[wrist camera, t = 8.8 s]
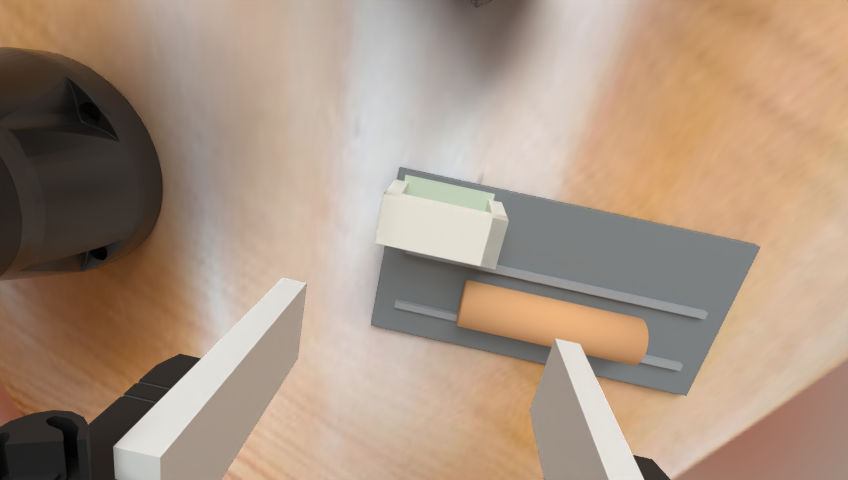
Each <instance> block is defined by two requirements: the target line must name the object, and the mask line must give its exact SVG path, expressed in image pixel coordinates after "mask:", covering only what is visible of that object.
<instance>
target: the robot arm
mask: <svg viewBox="0 0 848 480" xmlns="http://www.w3.org/2000/svg"><path fill="white" fill-rule="evenodd" d="M161 198H162V178H161V170H160V165H159V160H158V157H157V153H156V150H155V147H154V145H153V142H152V140H151V137H150V135H149V133H148V131H147V129H146V127H145V126H144V124H143V122H142V121H141V119H140V117H139V116H138V114H137V113H136V111H135V110H134V109H133V107H132V106H131V105H130V104H129V102H128V101H127V100H126V99H125V98H124V97H123V95H122V94H121V93H120V92H119V91H118V90H117V89H116V88H115V87H114V86H113V85H111V84H110V83H109V82H108V81H107V80H105V79H104V78H103V77H102V76H100V75H99V74H97V73H96V72H95V71H93V70H92V69H90V68H88V67H86V66H85V65H83V64H81V63H79V62H77V61H75V60H73V59H70V58H68V57H65V56H62V55H59V54H55V53H51V52H46V51H39V50H30V49H20V48H10V47H0V281H3V280H13V279H22V278H32V277H42V276H52V275H61V274H71V273H79V272H84V271H88V270H92V269H95V268H98V267H101V266H103V265H105V264H107V263H109V262H112V261H114V260H116V259H118V258H120V257H122V256H124V255H126V254H128V253H130V252H131V251H133V250H134V249H135V248H137V247H138V246H139V245H140V244H141V243H142V242H143V241H144V240H145V239H146V237H147V236H148V235H149V233H150V231H151V230H152V228H153V226H154V224H155V222H156V219H157V217H158V213H159V210H160V205H161ZM306 286H307V283H304V282H300V281H295V280H291V279H286V278H281V279H280V280H279V281H278V282H277V283H276V284H275V285H274V286H273V287H272V288H271V289H270V290H269V291H268V292H267V293H266V294H265V295H264V296H263V297H262V298H261V299H260V300H259V301H258V302H257V303H256V304H255V305H254V306H253V307H252V308H251V309H250V310H249V311H248V312H247V313H246V314H245V315H244V316H243V317H242V318H241V319H240V320H239V321H238V322H237V323H236V324H235V325H234V326H233V327H232V328H231V329H230V330H229V331H228V332H227V333H226V334H225V335H224V336H223V337H222V338H221V339H220V340H219V341H218V342H217V343H216V344H215V345H214V346H213V347H212V348H211V349H210V350H209V351H208V352H207V353H206V354H205V355H204V356H203V357H202V358H196V357H192V356H187V355H183V354H179V355H177V356H175V357H172V358H170V359H168V360H166V361H164V362H162V363H160V364H158V365H156V366H155V367H154V368H153V369H152V370H150V371H149V372H148V373H147V374H146V375H145V376H144V377H142V378H141V379H140V380H139V383H138V384H137V383H136V384H134V385H133V386H132V387H131V388H130V389H129V390H128V391H126V392H125V393H124V396H123V397H120V398H118V399H117V400H116V401H115V402H114V403H113V404H112V405H110V406H109V407H108V408H107V409H106V410H105V411H104V412H102V413H101V414H100V415H99V416H98V417H97V418H96V419H94V420H93V421H92V422H91V423H90V424H89V425H88V424H87V422H86V420H85V419H84V417H82V416H80V415H78V414H76V413H73V412H70V411H57V410H52V411H46V412H39V413H33V414H30V415H27V416H24V417H21V418H18V419H15V420H12V421H10V422H8V423H6V424H5V425H3V426H1V427H0V480H221V479H222V478H223V476H224V474H225V473H226V471H227V470H228V468H229V467H230V465H231V463H232V462H233V460H234V459H235V457H236V455H237V454H238V452H239V451H240V449H241V448H242V446H243V444H244V443H245V441H246V440H247V438H248V436H249V435H250V433H251V432H252V430H253V429H254V427H255V425H256V424H257V422H258V421H259V419H260V417H261V416H262V414H263V413H264V411H265V410H266V408H267V406H268V405H269V403H270V402H271V400H272V398H273V397H274V395H275V394H276V392H277V391H278V389H279V387H280V386H281V384H282V383H283V381H284V379H285V378H286V376H287V375H288V373H289V372H290V370H291V368H292V367H293V365H294V364H295V362H296V360H297V359H298V352H299V344H300V336H301V327H302V319H303V311H304V302H305V294H306ZM530 416H531V420H532V425H533V430H534V435H535V439H536V444H537V449H538V454H539V458H540V463H541V468H542V472H543V477H544V480H670V479H669V477H668V476H667V475H666V474H665V473H664V472H663V471H662V470H661V469H660V468H659V466H658V465H657V464H656V463H655V462H654V461H653V460H652V459H648V458H644V457H639V456H635V455H632V453H631V451H630V448H629V446H628V444H627V442H626V440H625V438H624V436H623V434H622V432H621V429H620V427H619V425H618V423H617V421H616V419H615V417H614V415H613V413H612V410H611V408H610V406H609V404H608V402H607V400H606V398H605V396H604V394H603V391H602V389H601V387H600V385H599V383H598V381H597V379H596V377H595V375H594V372H593V370H592V368H591V366H590V364H589V362H588V360H587V358H586V356H585V353H584V351H583V349H582V347H581V345H580V344H578V343H574V342H569V341H565V340H560V339H556V338H555V340H554V342H553V345H552V348H551V351H550V354H549V357H548V360H547V362H546V365H545V368H544V371H543V374H542V377H541V379H540V382H539V385H538V388H537V391H536V394H535V396H534V399H533V402H532V405H531V408H530Z"/></svg>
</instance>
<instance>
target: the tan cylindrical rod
mask: <svg viewBox="0 0 848 480" xmlns="http://www.w3.org/2000/svg"><path fill="white" fill-rule="evenodd" d="M456 325H457V326H459V327H464V328H468V329H473V330H477V331H481V332H486V333H490V334H495V335H499V336H504V337H508V338H513V339H517V340H522V341H526V342H531V343H535V344H540V345H544V346H549V347H552V345H553V342H554V340H555V338H556V339H560V340H565V341H569V342H574V343H578V344H580V345H581V347H582V349H583V351H584V353H585V355H589V356H593V357H598V358H602V359H607V360H611V361H616V362H620V363H625V364H629V365H637V364H639V363H640V362H641V361H642V359H643V358H644V356H645V353H646V351H647V347H648V339H649V336H648V328H647V325H646V323H645V321H644V320H643V319H641V318H638V317H634V316H629V315H625V314H620V313H616V312H611V311H606V310H602V309H597V308H593V307H588V306H584V305H579V304H575V303H570V302H566V301H561V300H557V299H552V298H548V297H543V296H539V295H534V294H530V293H525V292H521V291H516V290H512V289H507V288H503V287H498V286H493V285H489V284H484V283H480V282H475V281H471V280H466V281H465V283H464V286H463V289H462V293H461V297H460V302H459V307H458V313H457V321H456Z"/></svg>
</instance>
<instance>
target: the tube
mask: <svg viewBox="0 0 848 480" xmlns="http://www.w3.org/2000/svg"><path fill="white" fill-rule="evenodd" d="M471 1H472V3H473V5H474V6H475V7H478V6H480V5H482V4H485V3H487V2H489V1H492V0H471Z"/></svg>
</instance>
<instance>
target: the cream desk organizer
mask: <svg viewBox="0 0 848 480" xmlns="http://www.w3.org/2000/svg"><path fill="white" fill-rule="evenodd" d="M407 187H408V182H406V181H401V180H397V179H395V180H394V181H393V182H392V184H391V185H390V186H389V187H388V188H387V190H386V191H385V192H384V193H383V197H382V203H381V209H380V215H379V221H378V226H377V232H376V238H375V243H377V244H381V245H386V246H390V247H395V248H400V249H404V250H409V251H413V252H418V253H422V254H427V255H431V256H436V257H440V258H445V259H449V260H454V261H458V262H463V263H468V264H472V265H477V266H481V267H486V268H490V269H496V265H497V262H498V258H499V254H500V251H501V247H502V244H503V240H504V237H505V233H506V229H507V226H508V222H509V220H508V218H507V215H506V212H505V210H504V207H503V204H502V202H498V201H493V200H489V199H488V203H487V207H486V211H485V212H484V211H480V210H475V209H471V208H466V207H461V206H457V205H452V204H448V203H443V202H438V201H434V200H429V199H425V198H420V197H415V196H411V195H406V192H407Z"/></svg>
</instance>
